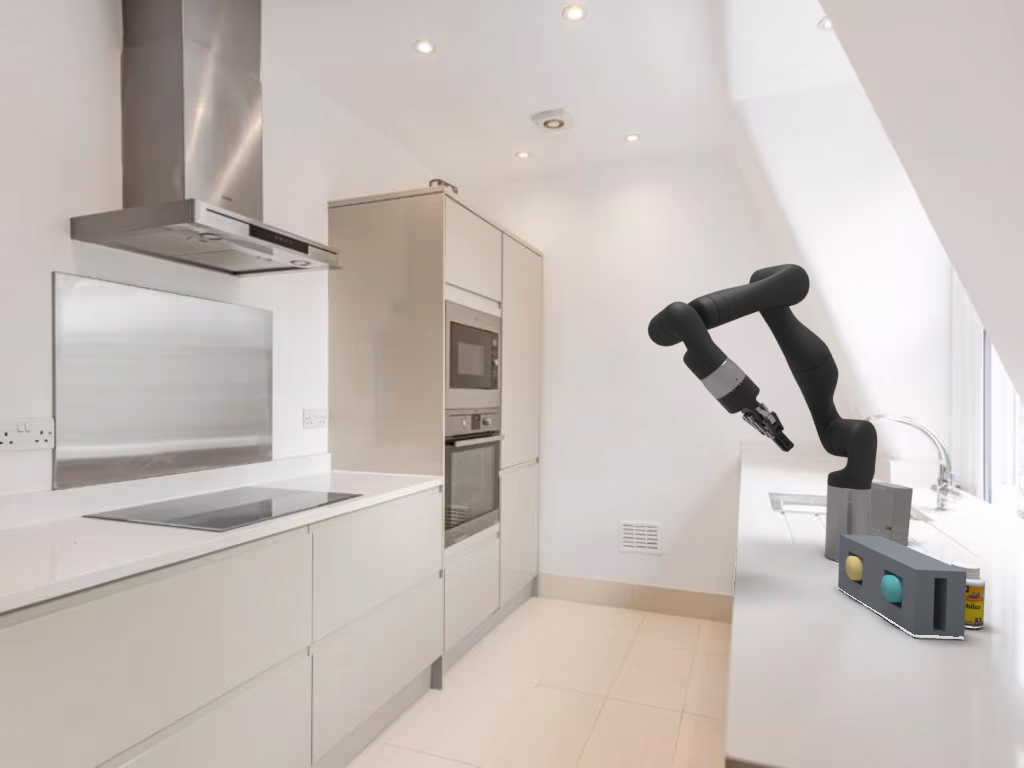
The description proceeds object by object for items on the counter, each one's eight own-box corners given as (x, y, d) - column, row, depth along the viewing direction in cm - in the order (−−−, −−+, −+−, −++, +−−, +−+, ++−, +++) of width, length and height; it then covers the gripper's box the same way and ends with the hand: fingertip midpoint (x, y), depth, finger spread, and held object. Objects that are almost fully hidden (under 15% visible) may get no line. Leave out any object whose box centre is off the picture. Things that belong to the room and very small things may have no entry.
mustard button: (857, 583, 115) (858, 559, 115) (845, 576, 120) (845, 553, 120) (874, 583, 115) (875, 560, 115) (861, 576, 119) (862, 553, 119)
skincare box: (863, 539, 168) (865, 481, 168) (883, 538, 170) (885, 481, 170) (890, 547, 160) (892, 486, 160) (911, 546, 162) (913, 486, 162)
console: (913, 638, 99) (916, 569, 99) (837, 589, 123) (839, 534, 123) (964, 640, 99) (966, 571, 99) (878, 591, 123) (880, 535, 123)
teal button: (895, 605, 103) (896, 579, 103) (880, 597, 108) (881, 571, 108) (915, 606, 103) (915, 580, 103) (899, 597, 107) (899, 572, 107)
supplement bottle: (945, 625, 105) (947, 565, 105) (941, 615, 110) (943, 558, 110) (986, 633, 103) (988, 571, 103) (980, 622, 107) (982, 563, 108)
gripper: (755, 371, 116) (819, 438, 116) (731, 372, 129) (789, 433, 129) (726, 398, 116) (789, 466, 116) (705, 397, 129) (762, 457, 129)
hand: (789, 448), depth 122 cm, fingers closed
